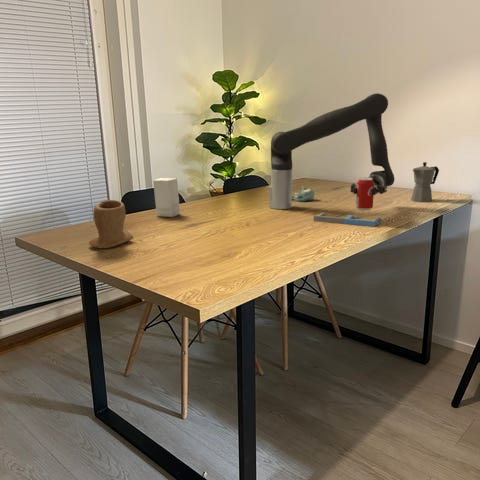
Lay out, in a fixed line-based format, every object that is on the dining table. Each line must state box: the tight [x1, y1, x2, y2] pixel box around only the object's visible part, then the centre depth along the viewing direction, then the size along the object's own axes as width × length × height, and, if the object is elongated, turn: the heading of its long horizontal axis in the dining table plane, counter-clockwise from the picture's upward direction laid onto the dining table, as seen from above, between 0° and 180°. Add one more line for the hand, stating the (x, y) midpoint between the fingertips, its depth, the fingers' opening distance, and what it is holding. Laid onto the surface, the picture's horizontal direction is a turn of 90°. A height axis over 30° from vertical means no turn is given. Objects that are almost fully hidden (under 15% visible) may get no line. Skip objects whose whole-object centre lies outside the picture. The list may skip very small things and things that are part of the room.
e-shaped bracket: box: [313, 211, 382, 228], centre depth 185 cm, size 24×11×2 cm, turn 62°
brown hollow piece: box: [88, 199, 134, 249], centre depth 156 cm, size 15×12×15 cm
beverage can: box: [355, 177, 374, 211], centre depth 180 cm, size 6×6×12 cm
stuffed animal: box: [292, 186, 315, 203], centre depth 227 cm, size 11×7×12 cm
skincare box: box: [152, 177, 181, 218], centre depth 197 cm, size 8×7×16 cm
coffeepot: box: [410, 161, 440, 203], centre depth 220 cm, size 15×9×18 cm, turn 113°
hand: (363, 191), depth 178 cm, fingers closed on beverage can, 6 cm apart
